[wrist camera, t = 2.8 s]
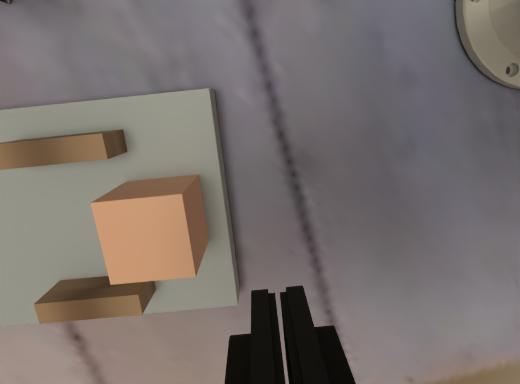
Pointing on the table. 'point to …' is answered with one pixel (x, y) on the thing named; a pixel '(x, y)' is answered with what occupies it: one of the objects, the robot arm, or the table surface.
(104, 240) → the block
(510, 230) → the table surface
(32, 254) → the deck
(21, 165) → the channel walls
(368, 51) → the table surface
